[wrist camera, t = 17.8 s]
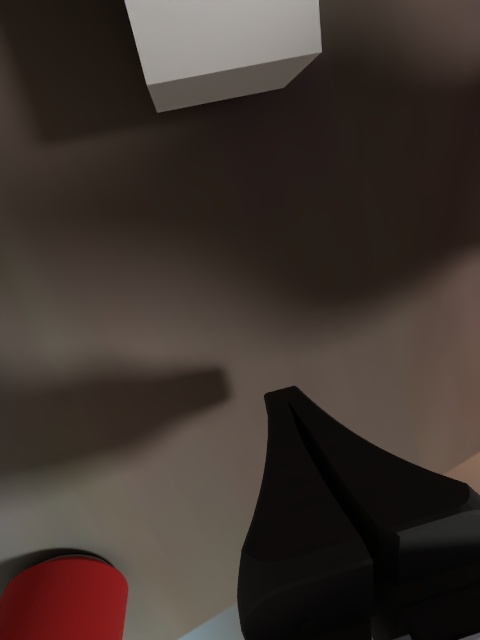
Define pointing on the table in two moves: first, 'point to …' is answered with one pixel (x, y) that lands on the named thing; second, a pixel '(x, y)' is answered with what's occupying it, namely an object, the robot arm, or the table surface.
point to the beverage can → (65, 601)
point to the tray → (221, 47)
